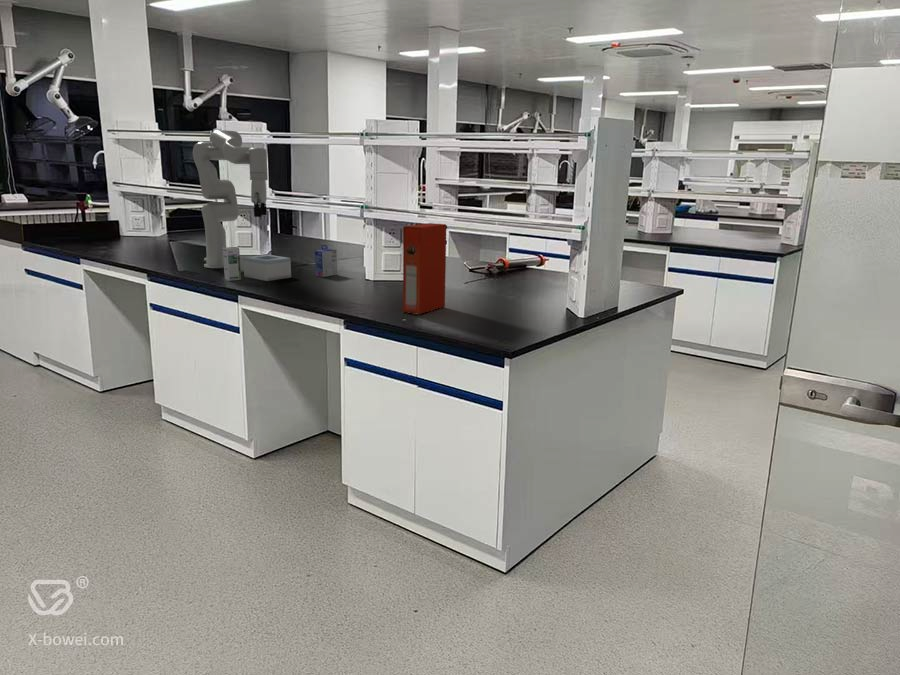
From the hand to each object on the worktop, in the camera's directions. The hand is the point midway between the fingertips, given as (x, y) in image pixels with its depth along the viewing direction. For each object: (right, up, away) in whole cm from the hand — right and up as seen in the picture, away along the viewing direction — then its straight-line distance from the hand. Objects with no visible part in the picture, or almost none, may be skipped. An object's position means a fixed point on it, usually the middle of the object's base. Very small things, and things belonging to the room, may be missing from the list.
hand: (260, 215), depth 306 cm
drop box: (0, -26, +11) cm, 29 cm away
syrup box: (-13, -29, +3) cm, 32 cm away
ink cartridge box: (+26, -25, +20) cm, 41 cm away
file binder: (+75, -44, -47) cm, 99 cm away
